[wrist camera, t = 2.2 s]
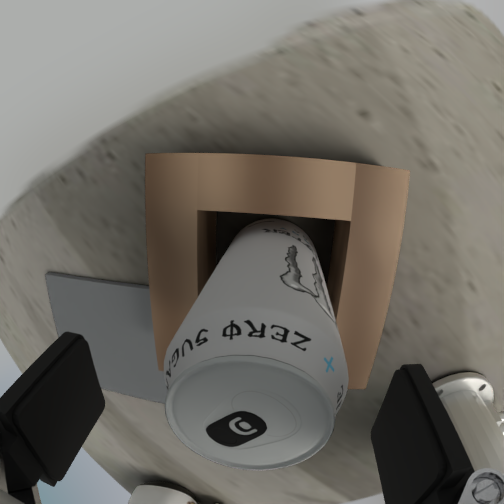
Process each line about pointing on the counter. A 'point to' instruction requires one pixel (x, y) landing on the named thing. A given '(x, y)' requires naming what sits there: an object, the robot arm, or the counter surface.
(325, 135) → the counter surface
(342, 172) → the walnut frame
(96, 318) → the rubber mat
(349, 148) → the counter surface
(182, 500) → the spread jar
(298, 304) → the energy drink can
